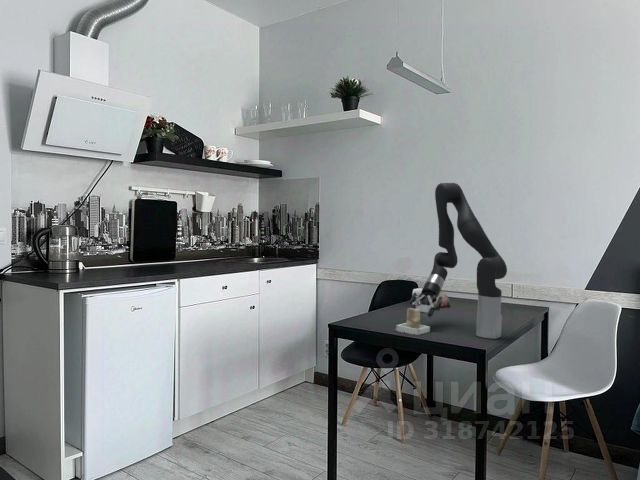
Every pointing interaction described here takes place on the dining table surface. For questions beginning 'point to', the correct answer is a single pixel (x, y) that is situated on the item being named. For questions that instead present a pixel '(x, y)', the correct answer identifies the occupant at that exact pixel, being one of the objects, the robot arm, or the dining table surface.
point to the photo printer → (422, 307)
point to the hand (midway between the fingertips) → (419, 314)
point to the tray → (413, 329)
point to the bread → (445, 300)
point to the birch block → (413, 318)
